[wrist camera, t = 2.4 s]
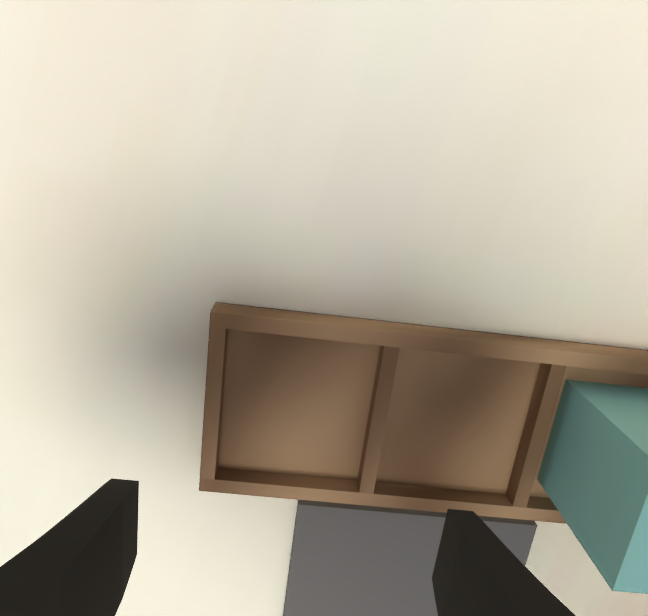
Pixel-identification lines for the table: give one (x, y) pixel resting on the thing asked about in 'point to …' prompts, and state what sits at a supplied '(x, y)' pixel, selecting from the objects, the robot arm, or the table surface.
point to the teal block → (603, 476)
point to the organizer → (389, 410)
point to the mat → (374, 558)
